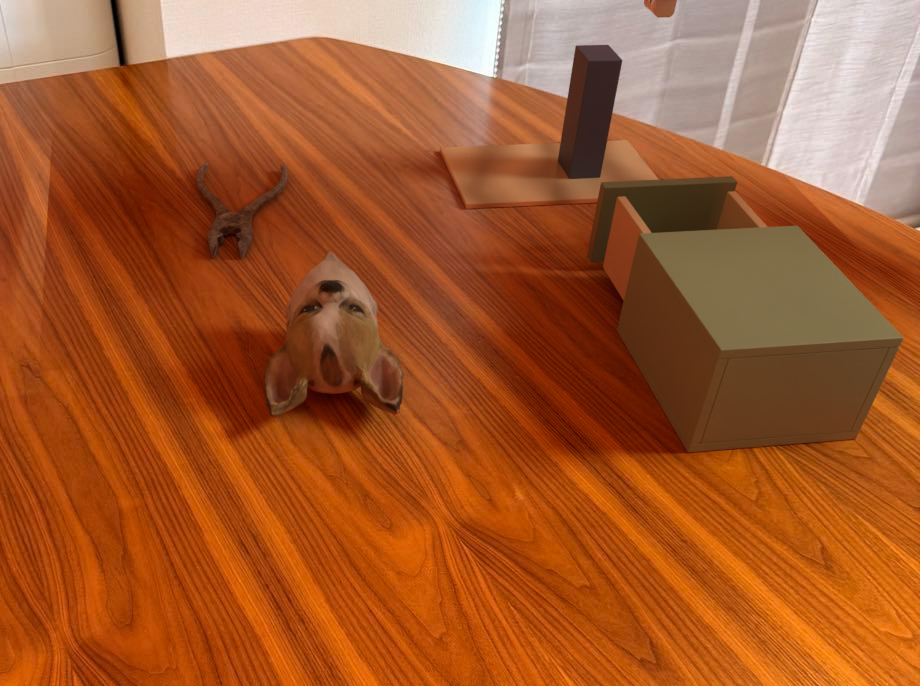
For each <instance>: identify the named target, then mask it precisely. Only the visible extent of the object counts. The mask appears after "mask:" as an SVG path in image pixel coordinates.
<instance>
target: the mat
mask: <svg viewBox="0 0 920 686" xmlns="http://www.w3.org/2000/svg"><path fill="white" fill-rule="evenodd" d="M560 143H561V142H543V143H519V144H517V143H516V144H495V145H494V144H491V145H465V146H463V145H462V146H442V147H441V146H440V147H439V153H440V154H441V157H442V160H443V162H444V163H445V166H446V167H447V171H448V172H449V174H450V176H451V178H452V181H453V183H454V185H455V187H456V189H457V191H458V192H457V193H458V194H459V196H460V198H461V201H462V202H463V205H464V207H465V209H466V210H469V209H471V210H472V209H491V208H493V209H494V208H510V207H512V208H513V207H531V206H532V207H534V206H535V207H536V206H553V205H554V206H555V205H575V204H597V201H598V195H599V190H600V185H601V182H615V181H638V180H660V179H659V178H658V176H657V175H656V174H655V173H654V172H653V170H652V168H650V166H649V165H648V164H647V163H646V161H645V160H644V159H643V157H642V156H641V155H640V154H639V153H638V152H637V150H636V149H635V148H634V146H633V145H632V144H631V143H630V141H629V140H628V139H621V140H607V144H606V150H605V155H604V160H603V165H602V171H601V176H600V178H578V179H569V178H568V176H567V175H566V173H565V172H564V170H563V169H562V167H561V165H560V164H559V162H558V156H559V149H560Z"/></svg>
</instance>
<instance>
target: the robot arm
mask: <svg viewBox="0 0 920 686" xmlns="http://www.w3.org/2000/svg"><path fill="white" fill-rule="evenodd" d="M677 2H678V0H643V6H644V7H645V8H646V9H647V10H649V11H650V12H651V13H653V15H654V16H655V17H656V18H671V17H672V16H674V14H675V11H676V7H677V4H678V3H677Z"/></svg>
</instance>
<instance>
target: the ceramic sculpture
mask: <svg viewBox="0 0 920 686" xmlns="http://www.w3.org/2000/svg"><path fill="white" fill-rule="evenodd" d="M291 294H292V295H291V297H290V299H289V300H288V301H287V302H286V303H285V309H284V310H285V316H286V318H287V320H286V324H285V326H286V334H285V339H284V342H283V344H282V345H281V347H279V348H278V349H277V350H275V351H274V352H273V353H272V354H271V356H270V357H269V358H268V359H267V361H266V362H267V365H266V369H265V371H264V373H263V378H262V379H263V385H264V394H265V401H266V406H267V408H268V410H269V415H270V416H271V417H272V418H277V417H279V416H280V415H283V414H285V413H288V412H290V411H292V410H293V409H295V408H297V407H299V406H300V405H302V404H303V403H304V402H305V400H306V399H307V395H308V389H309V390H311V391H313V392H316V393H320V394H321V393H322V394H333V395H335V394H343V393H344V394H345V393H349V392H353V391H355V390H357V389H359V388H360V391H361V392H360V393H361V396H362V399H363V400H364V401H365V402H366V403H368V405H369V404H370V405H371V406H373V407H375V408H376V409H379V410H382V411H385V412H387V413H389V414H392V415H398V414H399V412H400V408H401V405H402V403H403V391H404V385H403V384H404V371H403V369H402V367H401V366H400V359H399V356H397V354H395V352H394V351H393V350H391V349H390V348H388V347H387V346H386V345H384V344H383V342H382V340H381V337H380V333H379V322H378V319H377V315H378V313H379V307H378V303H377V301H376V300H375V299H374V298H373V296H372V295H371V293H370V290H369V289H368V287H367V285H366V284H365V283H364V281H362V279H361V278H360V277H359V276H358V275H357V273H355V271H353V269H351V268H350V267H348V266H347V265H346V264H345V263H343V262H342V261H340V259H339V258H338V256H336V254H335V253H334V252H332V251H329V252H328V253H326V254H325V255H324V257H323V258H322V259H321V261H319V262H318V263H317V264H315V265H314V266H313V267H312V268H311V269H310V270H309V271H307V272H306V273H305V275H304V276H303V278H302V279H301V280H299V283H297V284H296V287H295V289H294V290H293V292H292V293H291Z"/></svg>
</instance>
